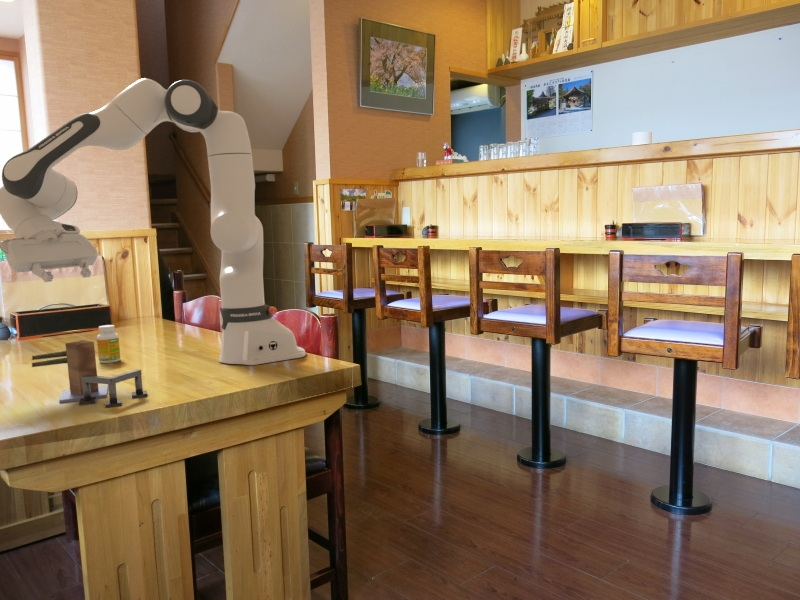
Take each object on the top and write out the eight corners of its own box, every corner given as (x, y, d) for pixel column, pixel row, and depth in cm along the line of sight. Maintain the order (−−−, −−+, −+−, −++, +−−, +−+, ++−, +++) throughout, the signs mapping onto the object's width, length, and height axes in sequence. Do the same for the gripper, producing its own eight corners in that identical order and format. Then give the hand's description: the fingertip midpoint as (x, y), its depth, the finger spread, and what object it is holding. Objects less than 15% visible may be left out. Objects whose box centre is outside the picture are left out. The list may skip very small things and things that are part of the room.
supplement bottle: (112, 363, 175) (109, 327, 174) (94, 363, 177) (91, 327, 175) (124, 359, 181) (121, 324, 180) (107, 359, 182) (104, 324, 181)
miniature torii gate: (32, 352, 190) (88, 344, 197) (33, 360, 191) (89, 351, 198) (31, 365, 172) (94, 355, 179) (33, 374, 172) (95, 364, 179)
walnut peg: (87, 389, 145) (82, 340, 144) (98, 391, 143) (93, 341, 142) (70, 393, 142) (65, 343, 141) (81, 395, 140) (76, 344, 139)
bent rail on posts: (146, 393, 142) (144, 367, 142) (148, 402, 135) (145, 375, 134) (80, 401, 137) (77, 375, 137) (77, 411, 130) (75, 383, 129)
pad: (107, 387, 148) (107, 385, 148) (106, 397, 140) (106, 394, 140) (63, 393, 145) (63, 390, 145) (59, 403, 137) (59, 400, 137)
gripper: (-1, 230, 148) (28, 272, 144) (83, 225, 165) (112, 264, 161) (-9, 250, 151) (20, 292, 147) (75, 244, 168) (103, 282, 164)
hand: (69, 277), depth 154 cm, fingers open, 8 cm apart
